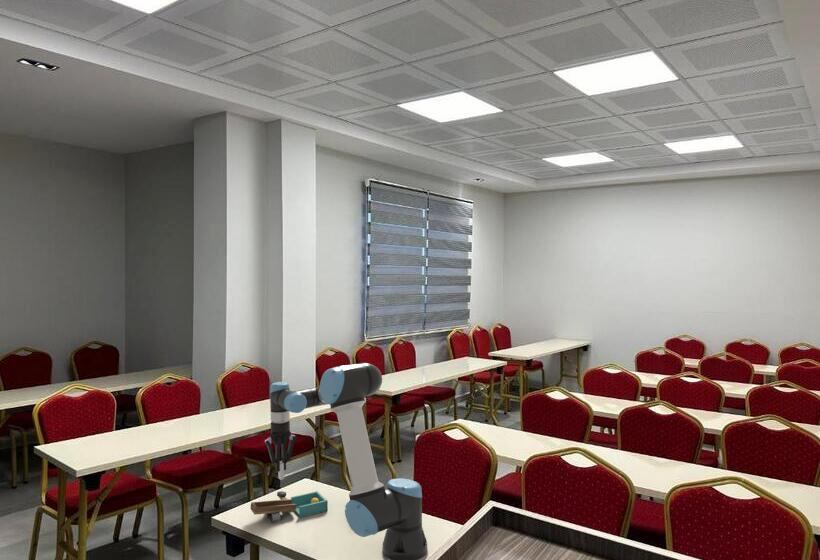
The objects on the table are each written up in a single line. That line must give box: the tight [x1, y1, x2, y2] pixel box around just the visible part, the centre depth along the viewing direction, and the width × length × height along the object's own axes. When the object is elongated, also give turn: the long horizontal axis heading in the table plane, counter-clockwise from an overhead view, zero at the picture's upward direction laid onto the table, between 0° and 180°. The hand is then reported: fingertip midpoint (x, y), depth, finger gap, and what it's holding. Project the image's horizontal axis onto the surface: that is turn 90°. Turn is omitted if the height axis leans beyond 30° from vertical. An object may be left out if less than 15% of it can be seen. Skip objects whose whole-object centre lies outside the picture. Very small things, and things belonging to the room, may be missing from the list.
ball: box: [311, 498, 319, 504], centre depth 221 cm, size 3×3×3 cm
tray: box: [290, 490, 329, 518], centre depth 220 cm, size 11×11×4 cm
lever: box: [249, 491, 297, 516], centre depth 218 cm, size 17×17×4 cm
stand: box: [264, 512, 283, 524], centre depth 213 cm, size 10×4×3 cm, turn 31°
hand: (281, 478), depth 226 cm, fingers closed
